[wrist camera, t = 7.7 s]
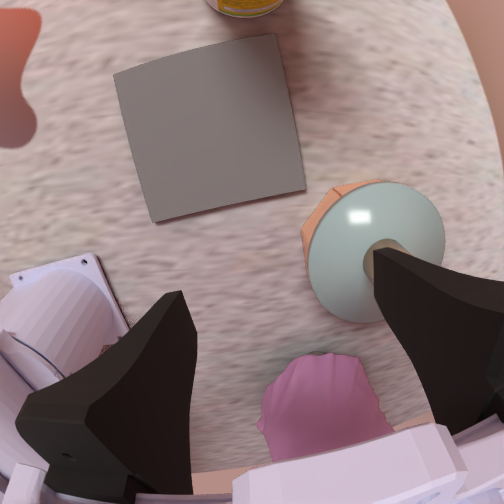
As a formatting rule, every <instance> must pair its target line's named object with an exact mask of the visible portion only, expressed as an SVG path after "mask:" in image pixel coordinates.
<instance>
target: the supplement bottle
mask: <svg viewBox="0 0 504 504" xmlns="http://www.w3.org/2000/svg"><path fill="white" fill-rule="evenodd" d="M206 1H207V3H208V4H209V5H210V6H211V7H213V8H214V9H215V10H217V11H219V12H221V13H223V14H225V15H228V16H232V17H238V18H252V17H258V16H262V15H264V14H267V13H269V12H271V11H273V10H274V9H276V8H277V7H278V6H279V5H280V4H281V3H282V2H283V1H284V0H206Z"/></svg>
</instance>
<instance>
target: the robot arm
mask: <svg viewBox="0 0 504 504" xmlns="http://www.w3.org/2000/svg"><path fill="white" fill-rule="evenodd" d="M83 259H85V260H86V261H87V263H85V262H84V261H83ZM373 272H374V298H375V300H376V302H377V304H378V307H379V309H380V311H381V313H382V315H383V317H384V318H385V320H386V322H387V323H388V325H389V326H390V328H391V329H392V331H393V333H394V334H395V336H396V337H397V339H398V340H399V342H400V343H401V345H402V347H403V348H404V350H405V351H406V353H407V355H408V356H409V358H410V360H411V362H412V363H413V365H414V367H415V370H416V372H417V374H418V376H419V379H420V381H421V383H422V386H423V388H424V391H425V393H426V396H427V398H428V401H429V404H430V407H431V410H432V412H433V416H434V419H435V422H436V423H429V422H428V423H424V424H420V425H416V426H412V427H407V428H404V429H401V430H398V431H395V432H392V433H389V434H386V435H383V436H380V437H377V438H374V439H370V440H367V441H364V442H360V443H357V444H353V445H349V446H346V447H342V448H338V449H334V450H330V451H325V452H321V453H316V454H312V455H307V456H302V457H297V458H291V459H286V460H280V461H276V462H272V463H268V464H264V465H260V466H256V467H252V468H251V469H249V470H248V471H246V472H245V473H243V474H241V475H240V476H238V477H237V478H235V479H234V480H233V481H232V493H227V494H207V495H193V487H192V478H191V464H190V441H189V413H190V402H191V395H192V388H193V381H194V375H195V368H196V361H197V331H196V328H195V326H194V323H193V320H192V318H191V315H190V312H189V310H188V307H187V304H186V302H185V299H184V296H183V293H182V291H181V290H180V291H174V292H169V293H166V294H164V295H163V296H162V297H161V298H160V299H159V300H158V301H157V302H156V303H155V304H154V305H153V306H152V307H151V309H150V310H149V311H148V312H147V313H146V314H145V315H144V316H143V317H142V318H141V319H140V320H139V321H138V322H137V323H136V324H135V325H134V326H133V327H132V328H131V329H130V330H129V328H128V326H127V324H126V322H125V320H124V318H123V316H122V313H121V311H120V309H119V307H118V305H117V303H116V301H115V298H114V296H113V294H112V292H111V290H110V287H109V285H108V283H107V280H106V278H105V276H104V273H103V271H102V269H101V266H100V264H99V261H98V259H97V257H96V255H95V254H93V253H86V254H83V255H79V256H75V257H71V258H67V259H64V260H60V261H56V262H52V263H49V264H45V265H41V266H38V267H34V268H31V269H27V270H24V271H20V272H16V273H13V274H12V275H11V276H10V281H11V283H12V285H13V288H12V289H11V290H10V291H9V292H8V294H7V295H6V296H5V297H4V298H3V299H2V300H1V301H0V504H504V282H503V281H496V280H489V279H483V278H478V277H474V276H470V275H466V274H462V273H458V272H455V271H452V270H449V269H446V268H443V267H440V266H437V265H435V264H432V263H429V262H427V261H424V260H422V259H419V258H417V257H414V256H412V255H409V254H407V253H404V252H402V251H399V250H396V249H393V248H390V247H385V248H381V249H376V250H373ZM21 276H22V277H23V278H22V277H21ZM119 336H121V337H122V338H120V337H119ZM110 344H114V345H113V346H112V347H110V348H109V349H108V350H107V351H105V352H104V353H103V354H102V355H100V356H99V354H100V352H101V350H102V348H103V346H104V345H110Z"/></svg>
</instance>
